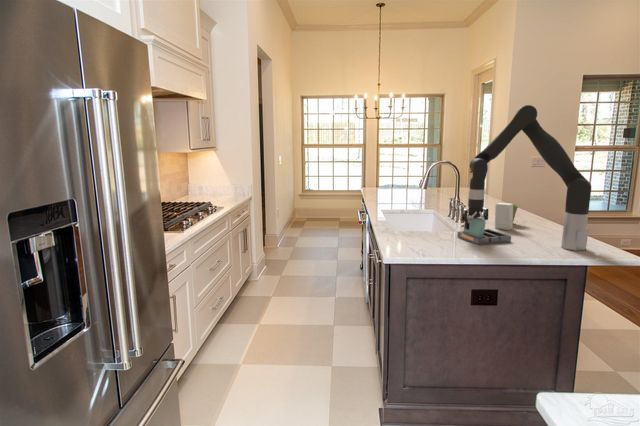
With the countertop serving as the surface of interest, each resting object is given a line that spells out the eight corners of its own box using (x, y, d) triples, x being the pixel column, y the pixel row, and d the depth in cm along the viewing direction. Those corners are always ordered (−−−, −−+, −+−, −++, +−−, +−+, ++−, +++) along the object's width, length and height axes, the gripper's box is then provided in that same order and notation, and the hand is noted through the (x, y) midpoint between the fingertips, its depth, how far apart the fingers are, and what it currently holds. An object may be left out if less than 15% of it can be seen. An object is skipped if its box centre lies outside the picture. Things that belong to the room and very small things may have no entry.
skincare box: (512, 228, 228) (514, 203, 225) (508, 230, 224) (510, 204, 221) (497, 226, 234) (499, 202, 231) (493, 228, 230) (495, 203, 227)
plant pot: (521, 224, 239) (523, 206, 237) (506, 226, 235) (508, 207, 233) (506, 220, 250) (507, 203, 248) (491, 222, 246) (493, 204, 244)
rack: (510, 241, 200) (511, 236, 200) (477, 245, 195) (478, 239, 194) (488, 234, 216) (488, 228, 216) (457, 236, 211) (457, 231, 210)
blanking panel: (482, 240, 200) (485, 221, 196) (477, 240, 199) (480, 222, 195) (467, 231, 210) (470, 213, 207) (463, 231, 210) (466, 214, 206)
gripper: (469, 199, 194) (467, 231, 197) (493, 198, 198) (490, 229, 201) (459, 197, 201) (458, 228, 204) (483, 196, 205) (481, 226, 208)
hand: (474, 228), depth 203 cm, fingers open, 8 cm apart
